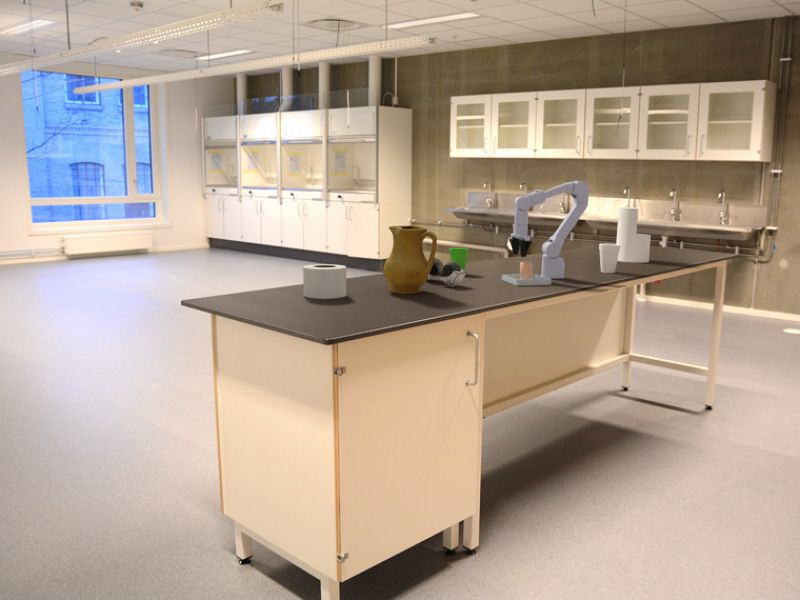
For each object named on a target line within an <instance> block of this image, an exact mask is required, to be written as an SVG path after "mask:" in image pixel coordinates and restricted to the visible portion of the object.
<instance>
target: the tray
mask: <svg viewBox="0 0 800 600" xmlns="http://www.w3.org/2000/svg"><path fill="white" fill-rule="evenodd" d="M540 275H541V274H536V273H533V274H532V279H527V280H520V273H518V274H517V273H515V274H514V273H513V274H510V273H509V274H501V281H502V282H505V283H508V284H511V285H514V286H517V287H520V286H521V287H522V286H524V287H525V286H527V287H528V286H552V279H549V278H546V277H543V276H540Z"/></svg>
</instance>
